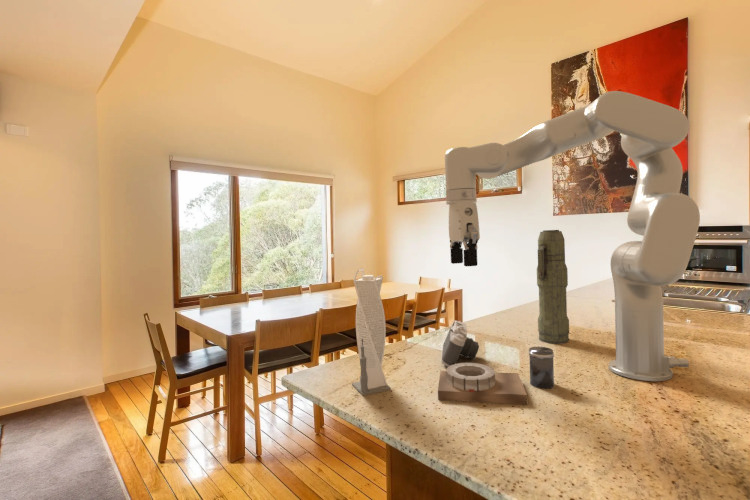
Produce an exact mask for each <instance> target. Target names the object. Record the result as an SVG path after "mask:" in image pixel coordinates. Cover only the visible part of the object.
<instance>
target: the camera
mask: <svg viewBox="0 0 750 500" xmlns="http://www.w3.org/2000/svg"><path fill="white" fill-rule="evenodd" d="M467 335H468V333H467V324H466V323H465V322H462V321H461V320H454V321H453V323H451V325H450V327H449V331H448V333H447V334H446V337H445V340H444V342H443V343H442V349H441V355H440V356H441V359H440V362H441V363H442V365H444V366H445V367H449V366H451V365H454V364H457V362H458V359H459V358H460V357H459V356H463V358H469V359H471V360H472V359H474V358H476V356H477V353H478V351H479V347H480V345H479V342H478V341H475V340H474V339H473V338H471V337H468V336H467Z"/></svg>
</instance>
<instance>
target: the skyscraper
mask: <svg viewBox="0 0 750 500" xmlns="http://www.w3.org/2000/svg"><path fill="white" fill-rule="evenodd" d="M361 271H362V273H361V278H359V279H357V275H358V274H359V272H361ZM364 274H365V269H364V268H363V267H362V268H359V269H358V270H356V271H355V274H354V277H353V285H354V288H355V291H356V295H357V301H356V308H355V333H356V342H357V343H356V344H357V350H358V351H357V352H358V355H359V357H358V358H359V364H360V365H359V366H360V376H359V379H358V380H359V381H355V382H352V383H351V385H352V386H353V387H354V388H355V390H356V391H357V392H358V393H359V394H360V395H361V396H368V395H372V394H375V393H380V392H385V391H389V390H391V389H392V388H391V386H390V385H388V382H387V380H386V379H387V378H386V377H385V373H384V371H383V368H382V367H383V366H382V365H383V360H384V357H385V348H386V347H385V346H386V336H387V335H386V333H387V330H386V328H387V326H386V316H385V310H384V305H383V301H382V297H381V289H382V284H383V280H384V276H383V275H382V274H380V275H377V276H374V275H372V274H367V275H366V274H365V275H364Z"/></svg>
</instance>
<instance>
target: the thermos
mask: <svg viewBox="0 0 750 500" xmlns="http://www.w3.org/2000/svg"><path fill="white" fill-rule="evenodd" d="M565 243H566V242H565V236H564V235H563V232H562V231H561V230H559V229H549V230H547V229H545V230H542V231H540V233H539V235H538V238H537V267H536V285H537V287H538V303H539V304H538V307H539V308H538V309H539V313H538V314H539V315H538V318H537V332H538V340H539V341H541V342H542V343H547V344H554V345H556V344H557V345H563V344H567V343H569V341H570V339H569V334H570V320H569V317H568V311H567V310H568V308H567V307H568V305H567V304H568V303H567V300H568V299H567V287H568V286H569V285H568V283H569V281H568V280H569V279H568V277H569V276H568V273H569V272H568V267H567V264H566V250H565V249H566V247H565V246H566V245H565Z"/></svg>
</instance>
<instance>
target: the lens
mask: <svg viewBox="0 0 750 500" xmlns="http://www.w3.org/2000/svg"><path fill="white" fill-rule="evenodd" d="M554 354H555V353H554V350H553V349H552V348H550V347H545V346H532V347H529V349H528V355H529V383H530V385H531V386H532V387H535V388H537V389H545V390H549V389H550V390H551V389H553V388H554V387H555V373H554V372H555V369H554V368H555V367H554V357H555V355H554Z"/></svg>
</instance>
